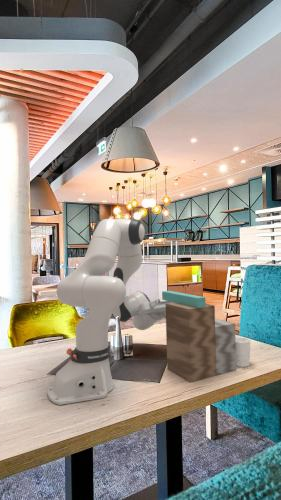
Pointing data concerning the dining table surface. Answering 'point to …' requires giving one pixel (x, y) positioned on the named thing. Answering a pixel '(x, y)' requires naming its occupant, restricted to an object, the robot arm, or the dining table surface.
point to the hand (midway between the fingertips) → (168, 299)
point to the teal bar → (184, 299)
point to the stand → (198, 342)
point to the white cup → (242, 351)
